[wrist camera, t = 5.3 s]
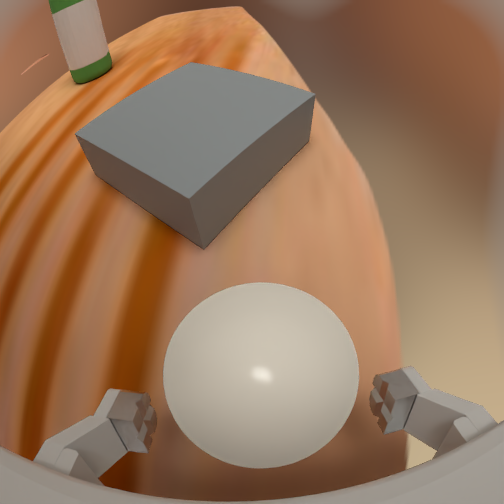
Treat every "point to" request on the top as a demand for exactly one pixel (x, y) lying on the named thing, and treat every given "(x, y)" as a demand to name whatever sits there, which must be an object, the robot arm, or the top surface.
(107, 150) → the plinth
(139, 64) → the top surface
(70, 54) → the wine bottle
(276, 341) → the cylinder
